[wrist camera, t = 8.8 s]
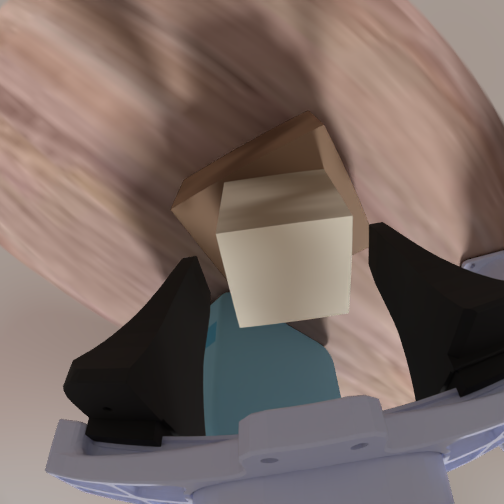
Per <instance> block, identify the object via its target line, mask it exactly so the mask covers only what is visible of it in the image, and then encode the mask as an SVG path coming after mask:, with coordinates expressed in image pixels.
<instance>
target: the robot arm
mask: <svg viewBox="0 0 504 504" xmlns="http://www.w3.org/2000/svg"><path fill="white" fill-rule="evenodd" d="M369 267H370V270H371V273H372V276H373V278H374V281H375V284H376V286H377V288H378V290H379V292H380V294H381V296H382V298H383V300H384V302H385V304H386V306H387V308H388V310H389V312H390V315H391V317H392V319H393V321H394V323H395V325H396V328H397V330H398V333H399V336H400V339H401V342H402V346H403V349H404V352H405V356H406V359H407V363H408V367H409V371H410V375H411V379H412V384H413V388H414V394H415V399H416V401H415V402H412V403H409V404H405V405H402V406H398V407H395V408H391V409H387V410H383V411H382V407H381V404H380V401H379V399H377V398H375V397H371V396H367V395H357V396H347V397H343V398H338V399H333V400H327V401H322V402H316V403H311V404H305V405H298V406H292V407H285V408H277V409H269V410H264V411H260V412H256V413H251V414H250V415H248V416H247V417H245V418H244V419H242V420H241V421H239V429H238V434H236V435H219V436H206V432H205V419H204V395H203V365H204V354H205V347H206V340H207V333H208V326H209V319H210V290H209V288H208V285H207V283H206V280H205V277H204V275H203V272H202V269H201V267H200V264H199V261H198V259H197V256H193V257H188V258H183V259H182V260H181V261H180V262H179V264H178V265H177V266H176V267H175V269H174V270H173V271H172V273H171V274H170V275H169V277H168V278H167V279H166V281H165V282H164V283H163V284H162V286H161V287H160V288H159V289H158V291H157V292H156V293H155V294H154V295H153V297H152V298H151V299H150V300H149V301H148V302H147V304H146V305H145V306H144V307H143V308H142V309H141V310H140V311H139V312H138V313H137V314H136V315H135V316H134V317H133V318H132V319H131V320H130V321H129V322H128V323H126V324H125V325H124V326H123V327H122V328H121V329H119V330H118V331H117V332H116V333H115V334H113V335H112V336H111V337H109V338H108V339H107V340H106V341H104V342H103V343H101V344H100V345H98V346H97V347H95V348H94V349H92V350H91V351H89V352H87V353H85V354H84V355H82V356H80V357H78V358H77V359H75V360H73V362H72V364H71V367H70V369H69V372H68V375H67V378H66V380H65V383H64V386H63V389H64V392H65V394H66V396H67V397H68V398H69V400H71V402H72V403H73V404H75V406H77V407H78V408H79V409H80V410H81V411H82V412H83V413H84V414H86V415H87V416H88V417H89V420H88V424H85V423H83V422H79V421H73V420H64V419H60V420H59V423H58V425H57V429H56V432H55V435H54V439H53V442H52V446H51V450H50V453H49V457H48V461H47V465H46V469H45V471H46V472H47V473H49V474H50V475H52V476H54V477H56V478H58V479H59V480H61V481H63V482H65V483H67V484H69V485H71V486H73V487H75V488H76V489H79V490H81V491H83V492H86V493H90V494H93V495H97V496H102V497H106V498H110V499H115V500H119V501H124V502H129V503H134V504H454V500H453V495H452V491H451V487H450V484H449V480H448V476H447V472H449V471H451V470H453V469H456V468H457V467H460V466H462V465H464V464H466V463H468V462H470V461H472V460H474V459H476V458H478V457H480V456H482V455H483V454H485V453H487V452H489V451H491V450H492V449H494V448H496V447H498V446H499V447H500V448H501V449H502V450H503V451H504V250H503V251H499V252H495V253H491V254H488V255H484V256H480V257H476V258H472V259H468V260H466V261H464V262H463V264H462V266H461V267H459V266H457V265H454V264H452V263H450V262H448V261H446V260H444V259H442V258H440V257H438V256H436V255H434V254H432V253H431V252H429V251H427V250H425V249H424V248H422V247H420V246H419V245H417V244H416V243H414V242H412V241H411V240H409V239H408V238H406V237H405V236H403V235H402V234H400V233H399V232H397V231H396V230H394V229H393V228H391V227H390V226H388V225H386V224H385V223H383V222H380V223H375V224H369Z"/></svg>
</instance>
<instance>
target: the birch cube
mask: <svg viewBox="0 0 504 504" xmlns="http://www.w3.org/2000/svg"><path fill="white" fill-rule="evenodd" d="M352 227H353V216H352V214H351V212H350V210H349V209H348V207H347V205H346V204H345V202H344V200H343V199H342V197H341V196H340V194H339V192H338V191H337V189H336V187H335V186H334V184H333V183H332V181H331V179H330V178H329V176H328V175H327V173H326V172H325V170H324V169H320V170H311V171H303V172H294V173H286V174H279V175H271V176H264V177H257V178H250V179H243V180H236V181H230V182H224V187H223V193H222V199H221V205H220V211H219V217H218V223H217V229H216V237H217V241H218V245H219V249H220V253H221V257H222V261H223V265H224V269H225V273H226V277H227V281H228V285H229V289H230V293H231V296H232V300H233V304H234V308H235V312H236V316H237V319H238V323H239V327H240V328H243V327H252V326H261V325H270V324H278V323H286V322H293V321H300V320H308V319H315V318H321V317H328V316H334V315H341V314H347V313H349V302H350V285H351V264H352Z"/></svg>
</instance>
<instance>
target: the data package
mask: <svg viewBox="0 0 504 504" xmlns="http://www.w3.org/2000/svg"><path fill="white" fill-rule="evenodd" d="M203 395H204V419H205V432H206V436H219V435H236V434H238V429H239V421H241V420H242V419H244V418H245V417H247V416H248V415H250V414H251V413H256V412H260V411H264V410H269V409H277V408H285V407H292V406H298V405H305V404H311V403H316V402H322V401H327V400H333V399H338V398H341V395H340V391H339V386H338V381H337V377H336V372H335V368H334V363H333V360H332V358H331V356H330V354H329V353H328V351H327V350H326V349H325V348H324V347H323V346H322V345H321V344H319V343H318V342H316V341H314V340H313V339H311V338H309V337H308V336H306V335H304V334H302V333H301V332H299V331H297V330H296V329H294V328H292V327H291V326H289V325H287V324H286V323H278V324H270V325H261V326H252V327H243V328H240V327H239V323H238V319H237V316H236V312H235V308H234V304H233V300H232V296H231V293H230V292H227V293H224V294H222V295H221V296H220V297H219V298H218V299H217V300H216V301H215V302H214V303H212V304H211V305H210V319H209V326H208V333H207V340H206V347H205V354H204V365H203Z"/></svg>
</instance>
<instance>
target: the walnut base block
mask: <svg viewBox="0 0 504 504" xmlns="http://www.w3.org/2000/svg"><path fill="white" fill-rule="evenodd" d="M320 169H324V170H325V172H326V173H327V175H328V176H329V178H330V179H331V181H332V183H333V184H334V186H335V187H336V189H337V191H338V192H339V194H340V196H341V197H342V199H343V200H344V202H345V204H346V205H347V207H348V209H349V210H350V212H351V214H352V216H353V227H352V255H354V254H356V253H358V252H360V251H362V250H364V249H366V248H368V247H369V222H368V220H367V218H366V215H365V213H364V210H363V208H362V205H361V203H360V201H359V198H358V196H357V194H356V191H355V189H354V187H353V185H352V182H351V180H350V178H349V176H348V173H347V171H346V169H345V167H344V165H343V163H342V160H341V158H340V156H339V154H338V152H337V150H336V148H335V146H334V144H333V142H332V140H331V138H330V136H329V134H328V132H327V130H326V128H325V126H324V124H323V123H322V122H321V121H319V120H318V119H317V118H316V117H315V116H314V115H313V114H312V113H311V112H310V111H306V112H304V113H302V114H300V115H298V116H296V117H294V118H293V119H291V120H289V121H287V122H285V123H283V124H281V125H279V126H277V127H275V128H273V129H271V130H270V131H268V132H266V133H264V134H262V135H260V136H258V137H257V138H255V139H253V140H251V141H249V142H248V143H246V144H244V145H242V146H240V147H239V148H237V149H235V150H233V151H232V152H230V153H228V154H227V155H225V156H223V157H221V158H220V159H218V160H216V161H215V162H213V163H211V164H210V165H208V166H206V167H205V168H203V169H201V170H200V171H198V172H196V173H195V174H193V175H191V176H190V177H188V178H187V179H185V180H184V181H183V183H182V185H181V187H180V189H179V192H178V194H177V196H176V198H175V201H174V203H173V205H172V207H171V211H172V212H173V213H174V215H175V216H176V217H177V218H178V220H179V221H180V222H181V224H182V225H183V226H184V227H185V229H186V230H187V231H188V232H189V234H190V235H191V236H192V237H193V239H194V240H195V241H196V242H197V244H198V245H199V246H200V247H201V249H202V250H203V251H204V252H205V254H206V255H207V256H208V257H209V259H210V260H211V261H212V262H213V263H214V265H215V266H216V267H217V268H218V270H219V271H220V272H221V273H222V274H223V276H224V277H225V278H226V279H227V277H226V273H225V269H224V265H223V261H222V257H221V253H220V249H219V245H218V241H217V237H216V229H217V223H218V217H219V211H220V205H221V199H222V193H223V187H224V182H230V181H236V180H243V179H250V178H257V177H264V176H271V175H279V174H286V173H294V172H303V171H311V170H320Z"/></svg>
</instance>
